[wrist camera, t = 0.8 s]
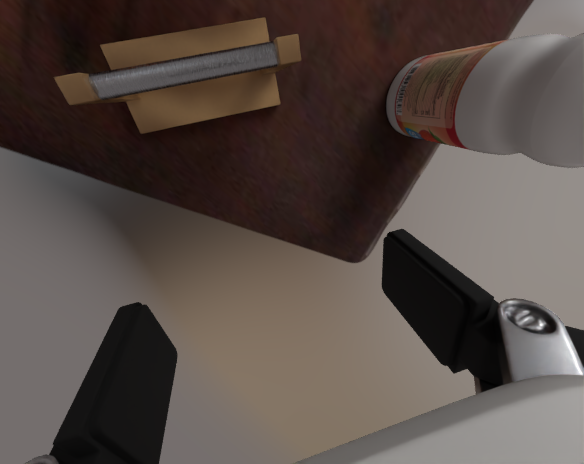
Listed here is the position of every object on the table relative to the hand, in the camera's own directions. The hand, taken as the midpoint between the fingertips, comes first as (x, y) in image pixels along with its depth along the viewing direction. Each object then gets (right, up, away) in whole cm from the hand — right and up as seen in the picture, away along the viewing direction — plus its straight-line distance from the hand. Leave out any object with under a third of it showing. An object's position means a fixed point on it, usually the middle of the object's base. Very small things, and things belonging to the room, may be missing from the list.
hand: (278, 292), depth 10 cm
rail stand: (-9, +19, +17) cm, 27 cm away
